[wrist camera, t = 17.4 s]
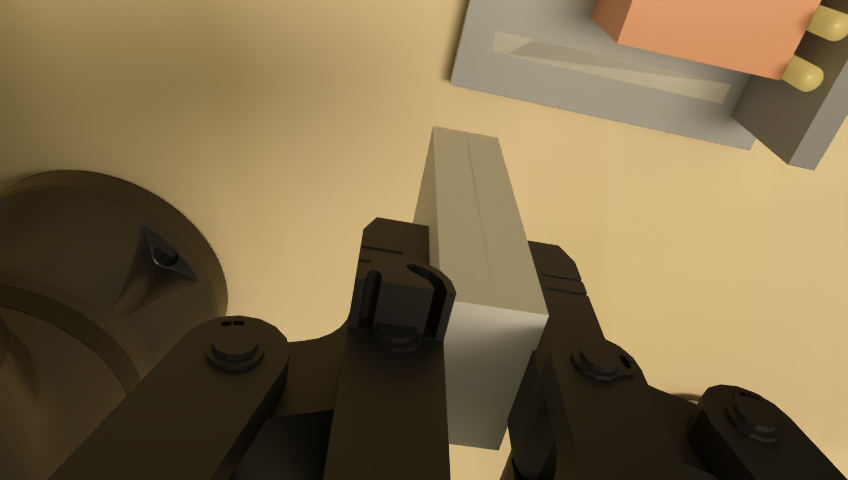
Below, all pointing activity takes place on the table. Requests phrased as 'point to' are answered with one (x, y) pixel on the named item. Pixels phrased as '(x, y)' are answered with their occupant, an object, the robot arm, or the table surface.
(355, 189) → the table surface
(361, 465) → the robot arm
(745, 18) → the orange block
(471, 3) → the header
